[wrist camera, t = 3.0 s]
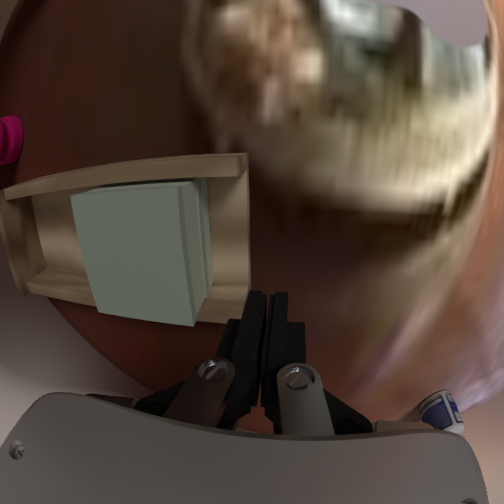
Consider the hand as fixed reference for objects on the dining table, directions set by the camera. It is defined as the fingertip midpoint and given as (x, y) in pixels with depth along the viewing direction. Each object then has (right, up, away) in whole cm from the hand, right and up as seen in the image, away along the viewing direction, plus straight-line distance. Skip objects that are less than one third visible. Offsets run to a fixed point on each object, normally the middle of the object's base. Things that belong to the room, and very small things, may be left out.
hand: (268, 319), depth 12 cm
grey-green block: (-8, +5, +10) cm, 14 cm away
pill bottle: (+27, -20, +18) cm, 38 cm away
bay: (-14, +6, +12) cm, 19 cm away
